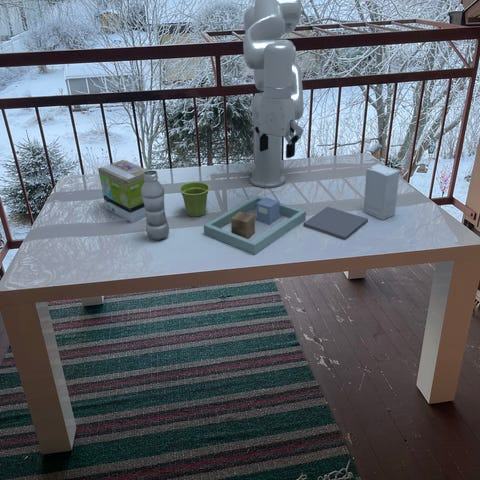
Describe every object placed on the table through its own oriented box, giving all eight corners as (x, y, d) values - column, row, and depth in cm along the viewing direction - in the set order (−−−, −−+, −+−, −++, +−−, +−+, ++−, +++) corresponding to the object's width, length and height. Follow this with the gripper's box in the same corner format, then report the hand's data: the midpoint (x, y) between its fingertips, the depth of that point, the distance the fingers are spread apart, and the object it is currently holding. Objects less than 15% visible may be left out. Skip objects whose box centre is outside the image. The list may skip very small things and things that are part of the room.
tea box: (104, 209, 154) (96, 167, 147) (129, 199, 161) (123, 158, 153) (131, 223, 145) (124, 179, 138) (157, 212, 152) (152, 169, 144)
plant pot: (216, 209, 153) (214, 184, 148) (202, 221, 145) (200, 196, 141) (191, 204, 156) (189, 180, 152) (176, 216, 149) (173, 191, 144)
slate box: (256, 220, 145) (256, 202, 142) (266, 214, 149) (266, 197, 146) (269, 225, 143) (269, 207, 140) (279, 218, 146) (279, 201, 143)
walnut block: (231, 236, 137) (231, 218, 134) (240, 229, 141) (239, 211, 138) (246, 240, 135) (246, 222, 132) (254, 233, 139) (254, 215, 136)
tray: (204, 234, 139) (203, 225, 137) (257, 203, 155) (257, 195, 154) (254, 254, 128) (254, 245, 127) (305, 219, 145) (305, 211, 143)
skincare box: (394, 215, 146) (402, 170, 138) (381, 221, 143) (388, 175, 136) (374, 206, 152) (380, 162, 144) (361, 211, 149) (366, 166, 142)
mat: (303, 226, 141) (303, 223, 141) (327, 209, 151) (327, 206, 150) (345, 240, 134) (345, 237, 133) (367, 221, 143) (368, 218, 142)
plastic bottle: (160, 244, 134) (152, 179, 124) (142, 238, 137) (132, 174, 127) (174, 234, 139) (167, 171, 128) (156, 229, 142) (148, 166, 132)
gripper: (244, 91, 131) (245, 151, 139) (294, 99, 120) (292, 163, 128) (262, 87, 135) (262, 145, 144) (312, 94, 125) (309, 156, 133)
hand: (276, 153), depth 136 cm, fingers open, 9 cm apart
